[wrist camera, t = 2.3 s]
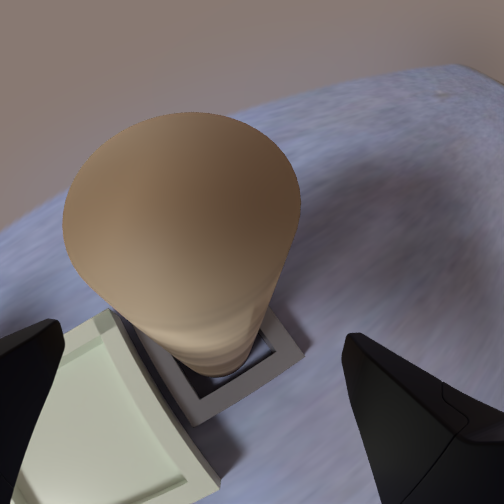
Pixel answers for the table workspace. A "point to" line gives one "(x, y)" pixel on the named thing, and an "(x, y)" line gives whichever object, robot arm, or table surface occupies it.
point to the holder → (236, 389)
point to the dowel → (186, 232)
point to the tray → (109, 431)
